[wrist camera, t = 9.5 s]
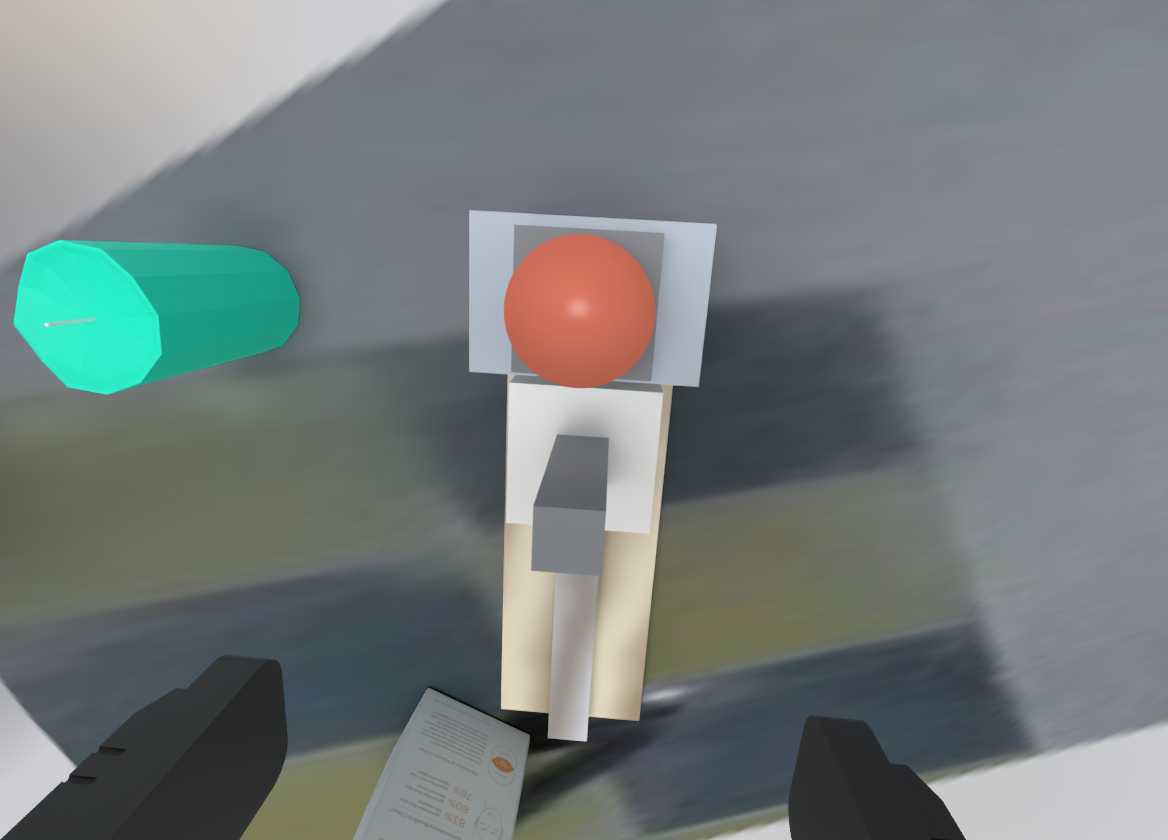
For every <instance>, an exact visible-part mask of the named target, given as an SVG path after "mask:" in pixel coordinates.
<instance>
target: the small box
mask: <svg viewBox="0 0 1168 840" xmlns="http://www.w3.org/2000/svg"><path fill="white" fill-rule="evenodd" d="M529 741H530V735H529V734H527V733H525V732H522V731H520V730H518V729H516V728H514V727H512V726H509V725H507V724H505V723H503V722H501V721H499V720H497V719H494V718H492V717H490V716H488V715H486V714H484V713H482V712H480V711H477V710H475V709H473V708H471V707H469V706H467V705H464V704H462V703H460V702H458V701H456V700H454V699H452V698H450V697H448V696H445V695H443V694H441V693H439V692H437V691H435V690H433V689H431V688H427V690H426V691H425V693H424V695H423V697H422V699H421V700H420V702H419V704H418V706H417V707H416V709H415V711H414V713H413V715H412V716H411V718H410V720H409V722H408V724H407V725H406V727H405V729H404V731H403V732H402V734H401V736H400V738H399V739H398V741H397V743H396V745H395V746H394V748H393V750H392V752H391V755H390V757H389V759H388V761H387V763H386V766H385V768H384V770H383V772H382V775H381V777H380V779H379V781H378V783H377V786H376V788H375V790H374V792H373V794H372V797H371V799H370V801H369V803H368V806H367V808H366V810H365V812H364V815H363V817H362V819H361V822H360V824H359V826H358V829H357V831H356V833H355V836H354V838H353V840H513V834H514V828H515V822H516V817H517V811H518V806H519V800H520V794H521V789H522V783H523V777H524V771H525V765H526V759H527V754H528V748H529Z"/></svg>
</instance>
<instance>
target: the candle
mask: <svg viewBox="0 0 1168 840" xmlns="http://www.w3.org/2000/svg"><path fill="white" fill-rule="evenodd" d="M299 305H300V297H299V295H298V293H297V290H296V288H295V286H294V284H293V281H292V279H291V277H290V275H289V272H288V271H287V270H286V269H285V268H284V267H283V266H281V265H280V264H279V263H278V262H277V261H275V260H274V259H273V258H272V257H271V256H269V255H268V254H267V253H266V252H265V251H260V250H255V249H251V248H246V247H241V246H233V245H202V244H170V243H139V242H107V241H75V240H58V241H56V242H53V243H51V244H49V245H46V246H44V247H42V248H39V249H37V250H35V251H32V252H30V253H27V257H26V261H25V264H24V268H23V271H22V275H21V279H20V282H19V288H18V295H17V302H16V309H15V316H14V326H15V327H16V328H17V330H18V331H19V332H20V333H21V335H22V336H23V337H24V339H25V340H26V341H27V342H28V344H29V345H30V346H31V348H32V349H33V350H34V351H35V353H36V354H37V355H38V357H39V358H40V359H41V360H42V361H43V363H44V364H45V365H46V366H47V367H48V368H49V369H50V370H51V371H52V372H53V373H54V374H55V375H56V376H57V377H58V378H59V379H60V380H61V381H62V382H63V383H64V384H65V385H66V386H67V387H70V388H75V389H80V390H86V391H91V392H97V393H102V394H107V395H108V394H111V393H115V392H119V391H122V390H126V389H130V388H134V387H137V386H141V385H145V384H148V383H152V382H156V381H159V380H163V379H167V378H171V377H174V376H178V375H182V374H185V373H189V372H193V371H197V370H200V369H204V368H208V367H211V366H215V365H219V364H223V363H226V362H230V361H234V360H237V359H241V358H245V357H248V356H252V355H256V354H260V353H263V352H265V351H268V350H271V349H274V348H277V347H280V346H283V345H284V344H285V342H286V341H287V340H288V338H289V337H290V336H291V334H292V333H293V332H294V330H295V329H296V327H297V326H298V320H299Z"/></svg>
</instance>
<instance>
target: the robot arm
mask: <svg viewBox="0 0 1168 840" xmlns="http://www.w3.org/2000/svg"><path fill="white" fill-rule="evenodd" d="M287 744H288V736H287V725H286V714H285V702H284V691H283V679H282V670H281V666H280V664H279V663H278V662H277V661H276V660H272V659H262V658H252V657H242V656H232V655H224V656H222V657H220V658H218V659H217V660H216V661H214V662H213V663H212V664H211V665H210V666H209V667H208V668H207V669H206V670H205V671H204V672H203V673H202V674H201V675H200V676H199V677H198V678H197V679H196V680H195V681H194V682H193V683H192V684H191V685H190V686H189V687H188V688H187V689H179V688H176V689H174V690H173V691H171V692H169V693H168V694H166V695H164V696H163V697H161V698H159V699H158V700H156V701H154V702H153V703H151V704H149V705H148V706H146V707H144V708H143V709H141V710H140V711H138V712H136V713H135V714H133V715H132V716H131V717H130V718H129V719H128V720H127V721H126V722H125V723H124V724H123V725H122V726H121V727H120V728H118V729H117V730H116V731H115V732H114V733H113V734H112V735H111V736H110V737H109V738H108V739H107V740H106V741H105V742H104V743H103V744H101V745H100V746H99V750H98V752H97V753H92V754H91V755H90V756H89V757H88V758H87V759H86V760H84V761H83V762H82V763H81V764H80V765H79V766H78V767H77V768H76V769H75V770H74V771H73V772H72V773H71V774H70V776H69V779H68V780H67V781H66V782H65V783H64V782H61V783H60V784H59V785H58V786H57V787H56V788H55V789H54V790H53V791H52V792H50V793H49V794H48V795H47V796H46V797H45V798H44V799H43V800H42V801H41V802H40V803H39V804H38V805H37V806H36V807H35V808H33V810H31V811H30V812H29V813H28V814H27V815H26V816H25V817H24V818H23V819H22V820H21V821H20V822H19V823H18V824H17V825H15V826H14V827H13V828H12V829H11V830H10V831H9V832H8V833H7V834H6V835H5V836H4V837H3V838H2V839H1V840H239V839H240V838H241V836H242V835H243V833H244V831H245V830H246V828H247V827H248V825H249V824H250V822H251V821H252V819H253V818H254V816H255V815H256V813H257V811H258V810H259V808H260V807H261V805H262V804H263V802H264V801H265V799H266V798H267V796H268V795H269V793H270V791H271V790H272V788H273V787H274V785H275V783H276V781H277V779H278V777H279V775H280V772H281V770H282V767H283V764H284V760H285V756H286V752H287ZM788 809H789V825H790V832H791V838H792V840H966V839H965V838H964V836H963V834H962V832H961V831H960V829H959V827H958V826H957V824H956V822H955V821H954V819H953V817H952V816H951V814H950V812H949V811H948V809H947V808H946V806H945V804H944V802H943V801H942V800H941V799H940V798H939V797H938V796H937V795H936V794H935V793H934V792H933V791H932V790H931V789H930V788H929V787H928V786H927V785H926V784H925V783H924V782H923V781H922V780H921V779H920V778H919V777H918V776H917V775H916V774H915V773H914V772H913V771H912V770H911V769H910V768H909V767H908V766H907V765H899V764H890V763H889V761H888V759H887V757H886V755H885V754H884V752H883V750H882V748H881V746H880V744H879V742H878V741H877V739H876V737H875V735H874V733H873V731H872V730H871V728H870V727H869V726H868V724H867V723H865V722H864V721H862V720H852V719H842V718H832V717H823V716H809V717H808V718H807V720H806V722H805V725H804V729H803V734H802V739H801V743H800V748H799V752H798V757H797V762H796V766H795V771H794V775H793V780H792V784H791V789H790V794H789V807H788Z"/></svg>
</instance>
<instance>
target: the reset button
mask: <svg viewBox="0 0 1168 840" xmlns="http://www.w3.org/2000/svg"><path fill="white" fill-rule="evenodd" d="M504 321H505V327H506V331H507V334H508V338H509V340H510V342H511V344H512V347H513V349H514V350H515V352H516V353H517V355H518V356H519V358H520V359H521V360H522V361H523V363H524V364H525V365H526V366H527V367H528V368H529V369H530V370H531V371H533V372H534V373H536V374H537V375H538V376H540V377H542V378H543V379H545V380H547V381H549V382H552V383H554V384H557V385H560V386H564V387H570V388H590V387H596V386H600V385H604V384H606V383H609V382H611V381H613V380H615V379H617V378H619V377H620V376H622V375H623V374H625V373H626V372H627V371H629V370H630V369H631V368H632V367H633V366H634V365H635V364H636V363H637V361H638V360H639V359H640V357H641V356H642V355H643V353H644V351H645V350H646V348H647V346H648V344H649V341H650V339H651V336H652V333H653V329H654V323H655V300H654V295H653V291H652V287H651V285H650V282H649V280H648V278H647V276H646V274H645V272H644V270H643V269H642V267H641V266H640V265H639V263H638V262H637V261H636V260H635V259H634V258H633V257H632V256H631V255H630V254H629V253H628V252H627V251H626V250H624V249H623V248H622V247H620V246H618V245H617V244H615V243H613V242H611V241H609V240H606V239H604V238H601V237H597V236H593V235H585V234H573V235H566V236H561V237H558V238H554V239H552V240H549V241H547V242H545V243H543V244H542V245H540V246H538V247H537V248H535V249H534V250H533V251H532V252H530V253H529V254H528V255H527V256H526V257H525V258H524V259H523V260H522V261H521V263H520V264H519V265H518V267H517V268H516V270H515V271H514V273H513V275H512V277H511V279H510V281H509V284H508V287H507V290H506V295H505V300H504Z"/></svg>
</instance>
